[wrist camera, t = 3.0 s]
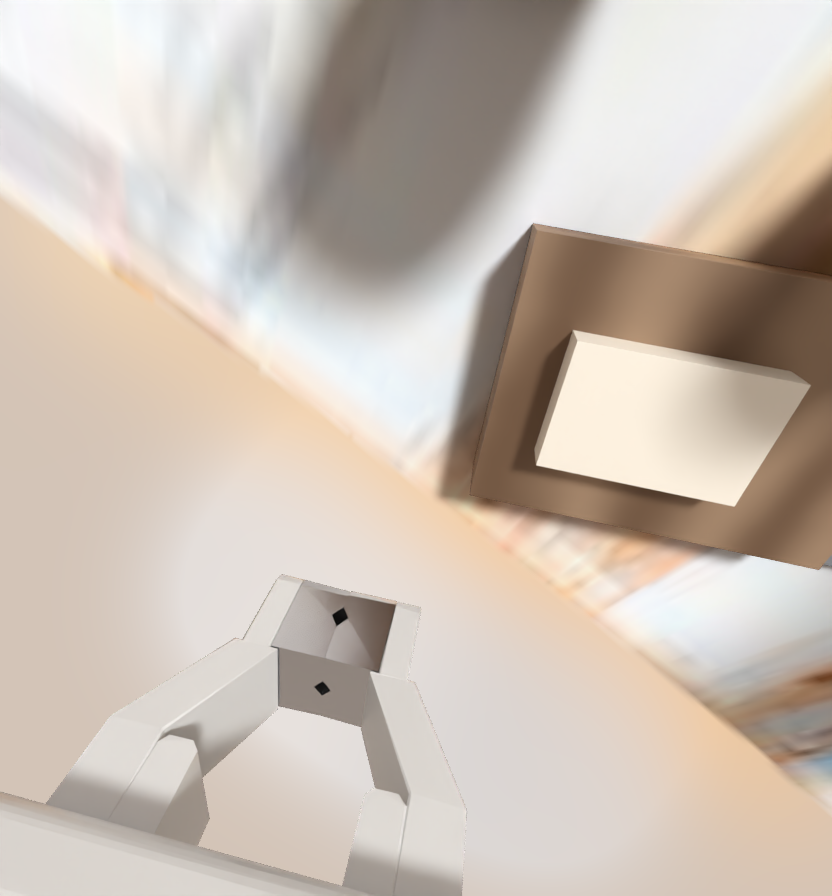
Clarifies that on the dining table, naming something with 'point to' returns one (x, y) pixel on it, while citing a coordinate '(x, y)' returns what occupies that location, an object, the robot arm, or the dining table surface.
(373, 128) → the dining table surface
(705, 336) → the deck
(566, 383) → the tile
